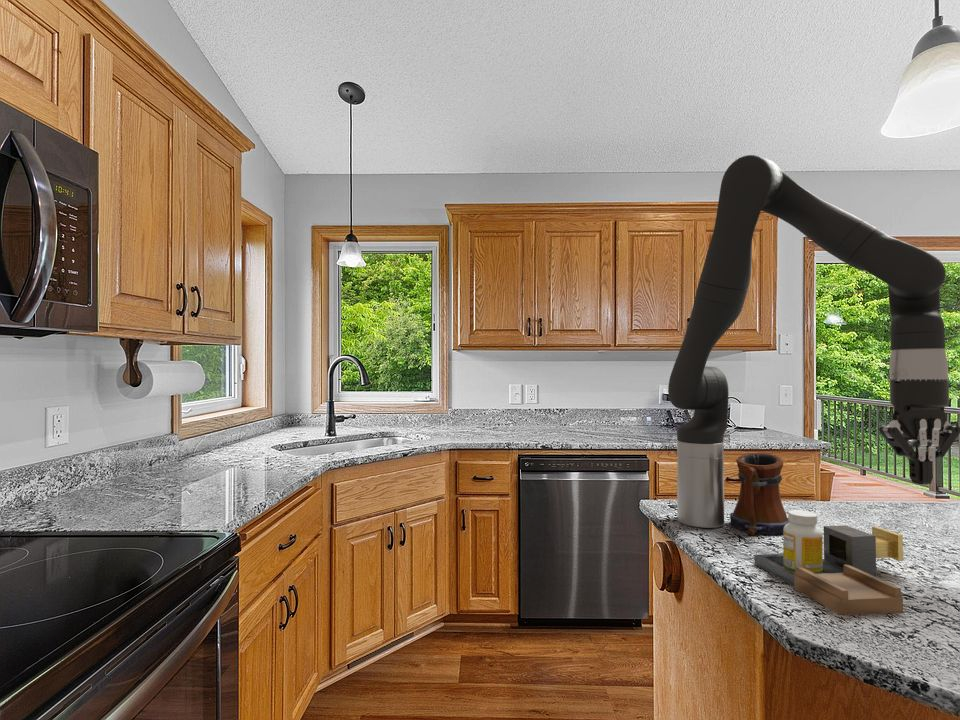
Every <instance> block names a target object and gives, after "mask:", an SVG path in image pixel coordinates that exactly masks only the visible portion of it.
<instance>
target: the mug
mask: <svg viewBox="0 0 960 720" xmlns="http://www.w3.org/2000/svg"><path fill="white" fill-rule="evenodd" d="M735 461H736V465H737V467H738V470H737V471H738V473H737V475H738V479H739V481H740V490H739V495H738V499H737V503H736V505H735V508H734V510H733V512H730V514H729V518H730V519H729V520H730V525H731V527H732V526H733V528H735V529H737V530H740V531H743V532H746V531H747V532H746V533H747V535H748V536H752V537H753V536H755V535H756V534H755V533H757V535H764V534H765V535H767V536H776V535H777V534H778V535H783V529H784V526H785V525H786V524H788V523H790V521H789V519H788V516H787V515H788V514H787V513H786V510H785V507H784V506H783V502H782V498H781V492H780V491H781V490H780V483H781V481H782V480H783V477H782V474H781V472H782V468H783V467H784V459H783V458H781V457H779V456H777V455H775V454H772V453H769V452H756V453H755V452H750V453H745V454H743V455H740V456H738V458H737V459H736V460H735Z"/></svg>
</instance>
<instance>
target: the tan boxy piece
mask: <svg viewBox="0 0 960 720" xmlns="http://www.w3.org/2000/svg"><path fill="white" fill-rule="evenodd" d="M871 535H874V536H876V559H892V560H894V561H897V562H903V561H904V543H903V542H904V541H903V540H904V538H903V537H904V536H903V534H900V533H897V532H894V531H891V530H888V529H885V528H883V527H879V526H875V525H874V526H871Z"/></svg>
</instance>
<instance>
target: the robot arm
mask: <svg viewBox="0 0 960 720" xmlns="http://www.w3.org/2000/svg"><path fill="white" fill-rule="evenodd" d="M761 212H764V213H766V214H769V215H772V216H774V217H775V218H779V219H780V220H782V221H784V222H786V223H787V224H789V225H791V226H792V227H793V228H795V229H796V230H798V231H799V232H800V233H802V234H803V235H804V236H805V237H806V238H808V239H809V240H810V241H811V242H813V243H814V244H815V245H817V246H819V247H820V248H821V249H823V250H824V251H825V252H827V253H828V254H830V255H832V256H833V257H834V258H837V259H838V260H840V261H842V262H844V263H845V264H847V265H848V266H850V267H852V268H854V269H856V270H858V271H862V272H867V273H868V274H870V275H872V276H874V277H875V278H877V279H879V280H880V281H882V282H883V283H885V284H887V290H888V291H887V292H888V302H889V310H890V316H891V317H890V318H891V320H890V321H891V322H890V335H889V336H890V356H889V367H888V368H889V369H888V370H889V400H890V404H891V405H892V406H893V407H894V408H893V413H892V415H891V421H890V422H889V423H888V424H887V425H880V426H879V428H878V431H879V433H880V434H881V435H882V437H883V438H884V440H886V442H887V443H888V445H889V446H890V447H891V449H892V450H893V452H894V453H895V454H896V456H899V457H903V458H906V459H907V460H908V466H909V467H908V469H909V474H908V475H909V479H910V480H911V482H912V483H913V484H917V485H931V484H932V482H933V478H934V470H933V469H934V461H935V460H936V459H938V458H944V457H945V456H946V454H947V453H948V451H949V449H950V448H951V447H952V445H953V444H954V442H955V441H956V439H957V438H958V436H959V435H960V426H959V425H953V424H951V423H950V422H949V421H948V415H947V413H946V411H945V408H946V407H948V406H949V404H950V397H949V396H950V394H949V392H950V391H949V363H948V357H947V354H946V352H947V351H946V333H945V330H946V329H945V323H944V319H943V317H942V315H941V305H940V292H941V290H940V287H942V285H943V284H944V282H945V279H946V275H947V272H946V266H945V265H944V264H943V262H942V261H941V260H940V259H938V257H936V256H935V255H933V254H931V253H929V252H928V251H926V250H924V249H922V248H920V247H917V246H915V245H913V244H911V243H908V242H905V241H903V240H901V239H897V238H895V237H892V236H890V235H888V234H887V233H886V232H884V231H883V230H881V229H878V228H877V227H875V226H874V225H872V224H870V223H868V222H867V221H865V220H863V219H861V218H860V217H858V216H855V215H854V214H852V213H850V212H848V211H846V210H844V209H842V208H840V207H838V206H836V205H834V204H832V203H830V202H828V201H826V200H824V199H822V198H821V197H818V196H817V195H815V194H813V193H812V192H810V191H809V190H807V189H805V188H804V187H803V186H801V185H800V184H799V183H797V182H796V181H795V179H793V178H791V176H789V174H787V173H786V172H784V171H783V170H782V169H781V168H780V167H779V166H778V164H777V163H776V162H774V161H773V160H770V159H769V158H766V157H763V156H760V155H753V154H749V155H743V156H740V157H738V158H736V159H735V160H734V161H733V162H732V163H731V164H729V166H728V168H727V169H726V170H725V172H724V174H723V176H722V179H721V184H720V188H719V195H718V202H717V209H716V214H715V215H716V216H715V222H714V226H713V227H714V228H713V231H712V235H711V239H710V241H709V243H708V244H709V245H708V247H707V251H706V256H705V259H704V262H703V267H702V271H701V272H700V277H699V280H698V284H697V287H696V291H695V296H694V301H693V304H692V309H691V312H690V316H689V321H688V324H687V328H686V330H685V333H684V337H683V340H682V343H681V346H680V348H679V351H678V354H677V356H676V360H675V362H674V364H673V367H672V371H671V373H670V376H669V380H668V385H667V387H668V389H667V391H668V398H669V401H670V403H671V404H672V406H673V407H675V408H676V409H679V410H683V411H684V410H685V411H686V410H687V411H689V410H691V411H693V410H694V413H693V416H692V417H691V418H690V420H689V421H687V422H686V423H684V424H682V425H680V426H679V427H678V428H677V431H676V439H677V440H676V441H677V442H676V446H677V447H676V454H677V457H676V459H677V460H676V461H677V471H676V472H677V474H676V495H677V496H676V501H677V502H676V503H677V504H676V509H677V513H676V514H677V515H676V516H677V521H678V522H679V523H681V524H683V525H686V526H690V527H695V528H703V529H705V528H707V529H709V528H710V529H711V528H713V529H715V528H720V527H723V526H725V461H724V458H725V456H724V455H725V454H724V435H725V433H726V430H727V429H728V428H727V427H728V417H729V414H728V413H729V394H730V393H729V384H728V380H727V377H726V375H725V373H724V372H723V370H721V369H720V368H718V367H716V366H706V364H707V361H708V358H709V357H710V354H711V352H712V351H713V349H714V347H715V345H716V344H717V342H719V340H720V339H721V338H722V337H723V335H724V334H726V332H727V331H729V329H730V328H731V327H732V326H733V324H734V323H735V322H736V320H737V319H738V318H739V317H740V314H741V313H742V311H743V307H744V305H745V301H746V297H747V294H748V290H749V287H750V282H751V275H752V266H753V265H752V264H753V263H752V257H753V256H752V253H753V238H754V235H755V229H756V227H757V223H758V221H759V217H760V214H761Z"/></svg>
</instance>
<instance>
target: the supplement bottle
mask: <svg viewBox="0 0 960 720" xmlns="http://www.w3.org/2000/svg"><path fill="white" fill-rule="evenodd" d="M787 515H788V516H787V518H788V519H789V521H790V523H788V524H786V525H785V526H784V529H783V534H782V535H783V539H782V540H783V541H782V546H783V552H782V554H783V560H784V561H783V562H784V563H783V565H782V566H783V567H784V568H786V569H788V570H789V571H791V572H793V573H795V574H796V567H803V568H805V569H807V570H809V571H811V572H813V573H815V574H817V573H823V572H824V571H823V559H824V552H823V532H822V530H821V528H819V526H816V525H817V524H818V521H819V520H818V514H817V513H815V512H812V511H809V510H808V511H807V510H801V509H800V510H799V509H794V510H789V511H788V512H787Z"/></svg>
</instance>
